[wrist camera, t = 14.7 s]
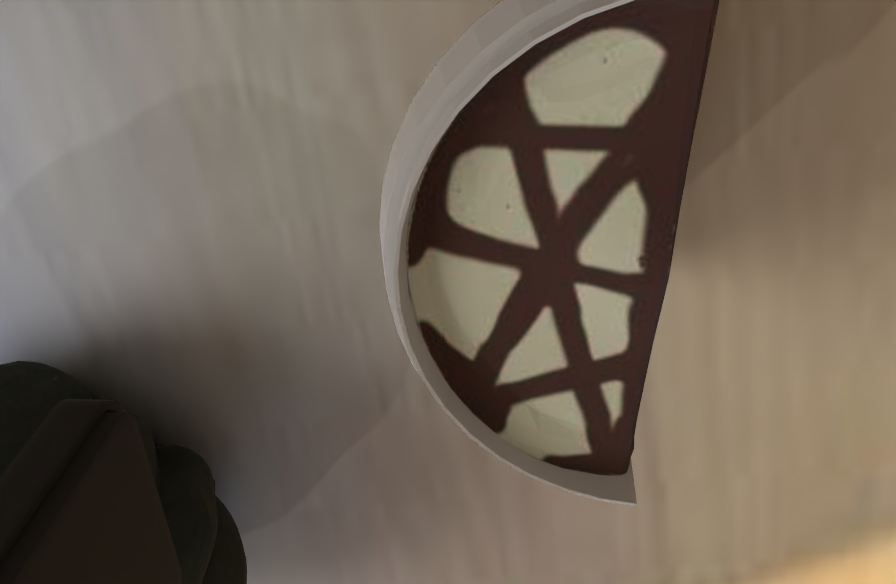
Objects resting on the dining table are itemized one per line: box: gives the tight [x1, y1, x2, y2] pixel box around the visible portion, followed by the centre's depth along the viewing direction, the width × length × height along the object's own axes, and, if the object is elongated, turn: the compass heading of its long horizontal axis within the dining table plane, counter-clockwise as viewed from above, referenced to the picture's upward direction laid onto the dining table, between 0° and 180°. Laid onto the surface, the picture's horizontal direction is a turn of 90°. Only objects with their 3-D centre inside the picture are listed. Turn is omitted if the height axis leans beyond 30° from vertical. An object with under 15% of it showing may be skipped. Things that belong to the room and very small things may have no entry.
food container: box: [379, 0, 719, 506], centre depth 20 cm, size 12×6×10 cm, turn 178°
